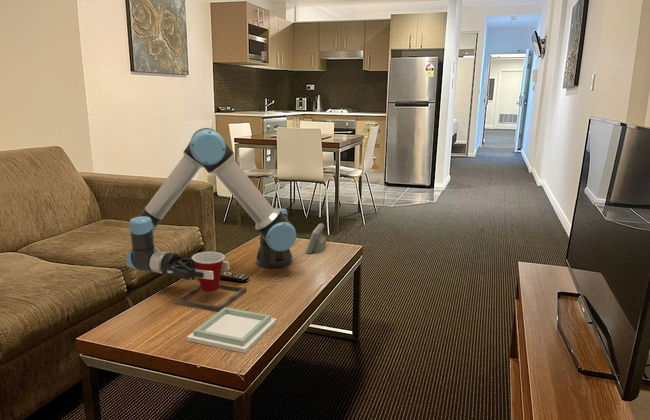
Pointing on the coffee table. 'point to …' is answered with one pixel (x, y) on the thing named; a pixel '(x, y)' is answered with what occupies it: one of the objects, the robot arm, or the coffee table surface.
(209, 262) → the plastic cup
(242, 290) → the holder frame
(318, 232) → the grey irregular lump
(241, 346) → the base plate
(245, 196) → the robot arm
